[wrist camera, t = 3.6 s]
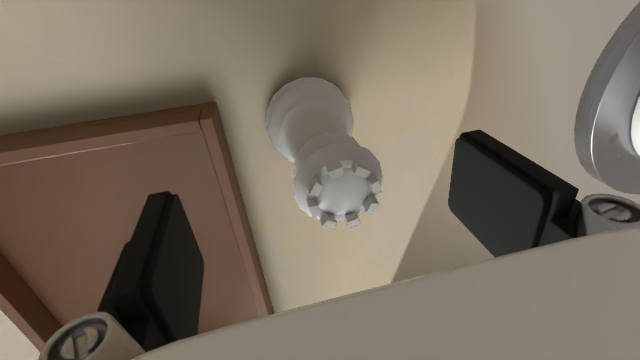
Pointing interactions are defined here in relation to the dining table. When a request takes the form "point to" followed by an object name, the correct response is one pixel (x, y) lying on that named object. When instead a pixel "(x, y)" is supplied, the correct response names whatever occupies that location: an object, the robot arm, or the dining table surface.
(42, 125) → the dining table surface
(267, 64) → the dining table surface
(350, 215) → the rook chess piece
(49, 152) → the tray
